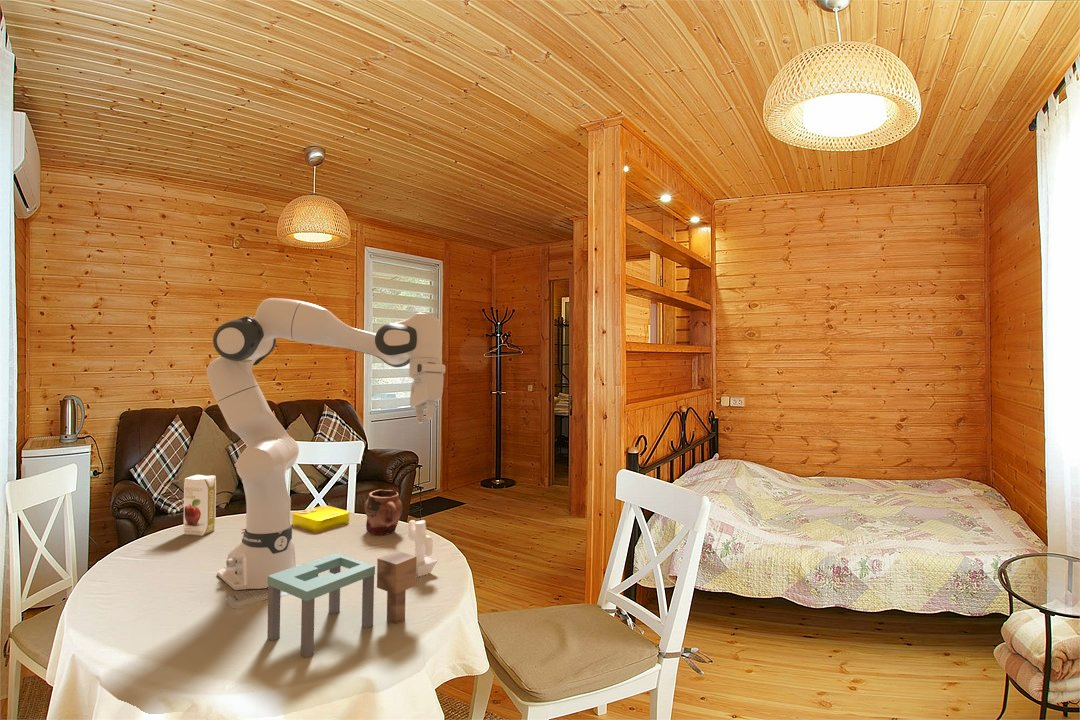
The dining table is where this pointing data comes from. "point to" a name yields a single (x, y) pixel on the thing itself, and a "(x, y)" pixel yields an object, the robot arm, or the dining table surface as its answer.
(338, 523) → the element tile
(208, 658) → the dining table surface
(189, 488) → the juice carton
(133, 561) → the dining table surface
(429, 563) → the figurine
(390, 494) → the decorative planter
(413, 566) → the walnut peg
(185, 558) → the dining table surface
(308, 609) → the keyhole shelf
